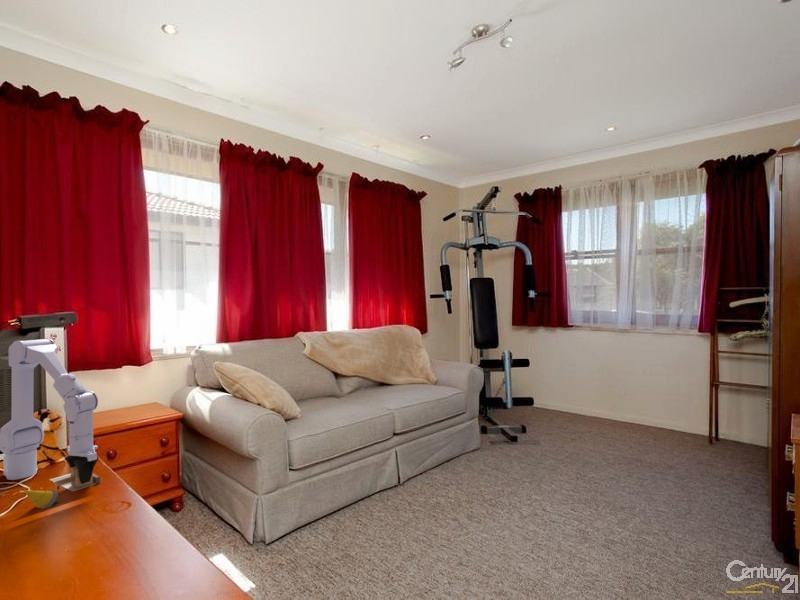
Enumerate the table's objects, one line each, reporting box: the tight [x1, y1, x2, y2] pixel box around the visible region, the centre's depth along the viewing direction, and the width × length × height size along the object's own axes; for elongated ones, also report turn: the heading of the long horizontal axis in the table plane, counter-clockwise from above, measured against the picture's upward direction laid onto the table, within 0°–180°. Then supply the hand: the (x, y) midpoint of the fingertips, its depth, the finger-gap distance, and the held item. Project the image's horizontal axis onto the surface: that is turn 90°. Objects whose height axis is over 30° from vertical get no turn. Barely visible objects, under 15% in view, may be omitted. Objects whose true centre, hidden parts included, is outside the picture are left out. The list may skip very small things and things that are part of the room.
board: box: [49, 472, 101, 493], centre depth 130 cm, size 16×7×3 cm, turn 57°
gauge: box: [54, 466, 94, 490], centre depth 126 cm, size 4×8×5 cm, turn 147°
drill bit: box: [23, 489, 61, 512], centre depth 114 cm, size 5×5×10 cm
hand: (81, 480), depth 128 cm, fingers closed on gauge, 4 cm apart
